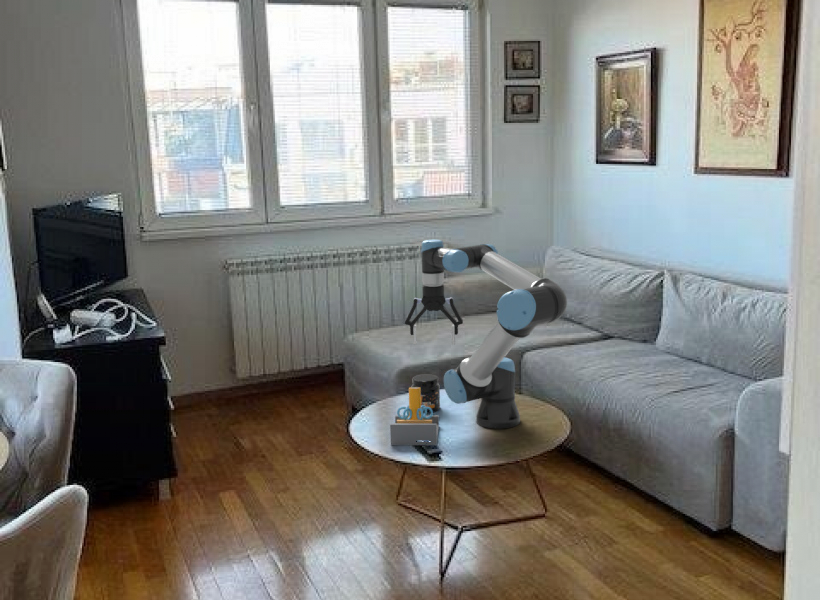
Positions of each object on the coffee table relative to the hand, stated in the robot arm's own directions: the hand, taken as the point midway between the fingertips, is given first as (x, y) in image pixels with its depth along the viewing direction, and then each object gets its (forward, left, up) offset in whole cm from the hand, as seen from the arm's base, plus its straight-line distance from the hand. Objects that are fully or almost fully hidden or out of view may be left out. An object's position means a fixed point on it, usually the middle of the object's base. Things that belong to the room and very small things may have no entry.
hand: (434, 343), depth 297 cm
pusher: (+6, +23, -27) cm, 36 cm away
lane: (+6, +19, -27) cm, 33 cm away
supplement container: (+4, -8, -27) cm, 28 cm away
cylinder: (+6, +18, -26) cm, 33 cm away
